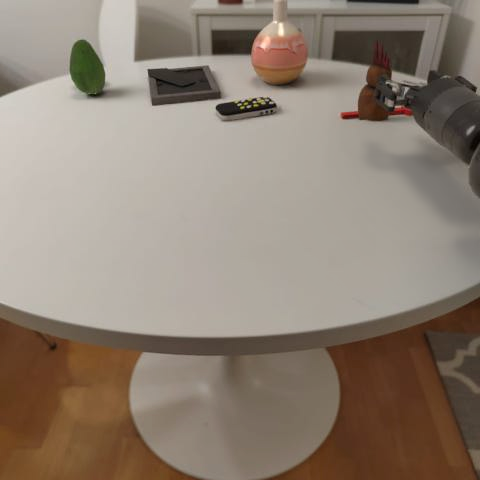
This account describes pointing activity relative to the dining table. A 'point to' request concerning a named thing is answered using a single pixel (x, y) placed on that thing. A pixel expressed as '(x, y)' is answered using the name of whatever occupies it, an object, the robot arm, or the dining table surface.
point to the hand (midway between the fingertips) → (405, 78)
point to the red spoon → (397, 111)
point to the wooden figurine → (366, 102)
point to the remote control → (245, 108)
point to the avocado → (86, 68)
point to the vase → (279, 49)
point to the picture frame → (182, 85)
